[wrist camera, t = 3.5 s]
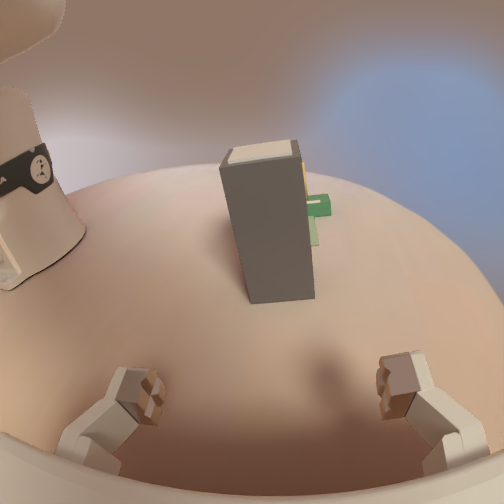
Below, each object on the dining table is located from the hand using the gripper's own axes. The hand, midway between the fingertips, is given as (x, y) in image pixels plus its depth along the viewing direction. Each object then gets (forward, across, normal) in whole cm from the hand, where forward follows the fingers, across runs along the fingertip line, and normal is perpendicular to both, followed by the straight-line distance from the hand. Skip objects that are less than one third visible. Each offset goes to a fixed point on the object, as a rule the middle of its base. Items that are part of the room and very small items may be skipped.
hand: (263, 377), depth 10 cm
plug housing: (+12, 0, +6) cm, 13 cm away
